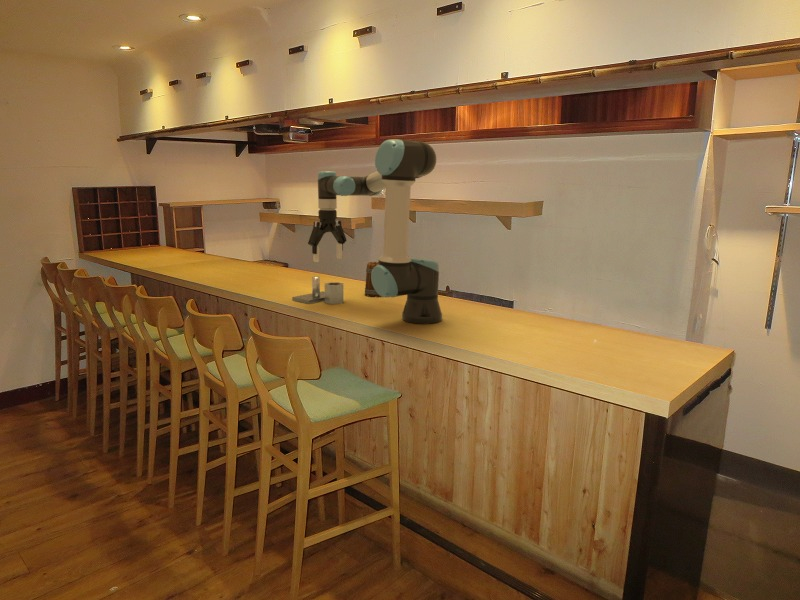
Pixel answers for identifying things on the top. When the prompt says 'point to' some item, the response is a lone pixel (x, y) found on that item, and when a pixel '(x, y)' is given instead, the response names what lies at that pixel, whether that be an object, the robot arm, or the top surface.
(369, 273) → the mug
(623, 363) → the top surface
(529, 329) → the top surface
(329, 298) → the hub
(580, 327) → the top surface
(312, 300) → the shaft stand
